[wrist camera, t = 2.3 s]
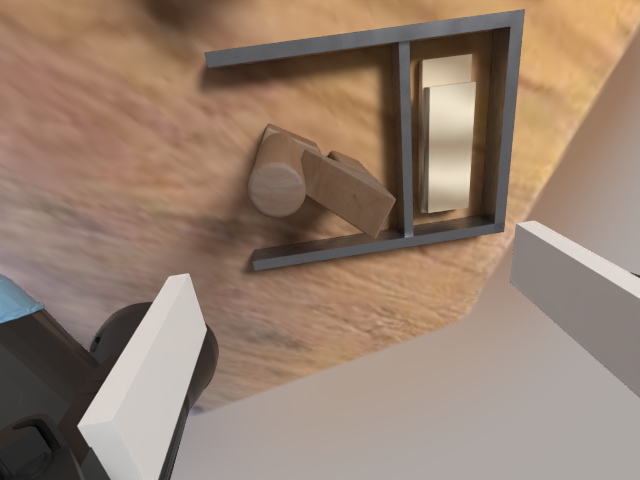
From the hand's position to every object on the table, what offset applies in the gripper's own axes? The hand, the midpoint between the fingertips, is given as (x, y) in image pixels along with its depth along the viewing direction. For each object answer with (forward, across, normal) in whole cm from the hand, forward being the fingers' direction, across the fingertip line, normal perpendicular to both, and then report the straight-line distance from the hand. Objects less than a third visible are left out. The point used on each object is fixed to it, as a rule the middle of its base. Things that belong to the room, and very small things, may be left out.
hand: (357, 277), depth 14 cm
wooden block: (+27, 0, 0) cm, 27 cm away
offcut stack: (+27, -14, 0) cm, 31 cm away
